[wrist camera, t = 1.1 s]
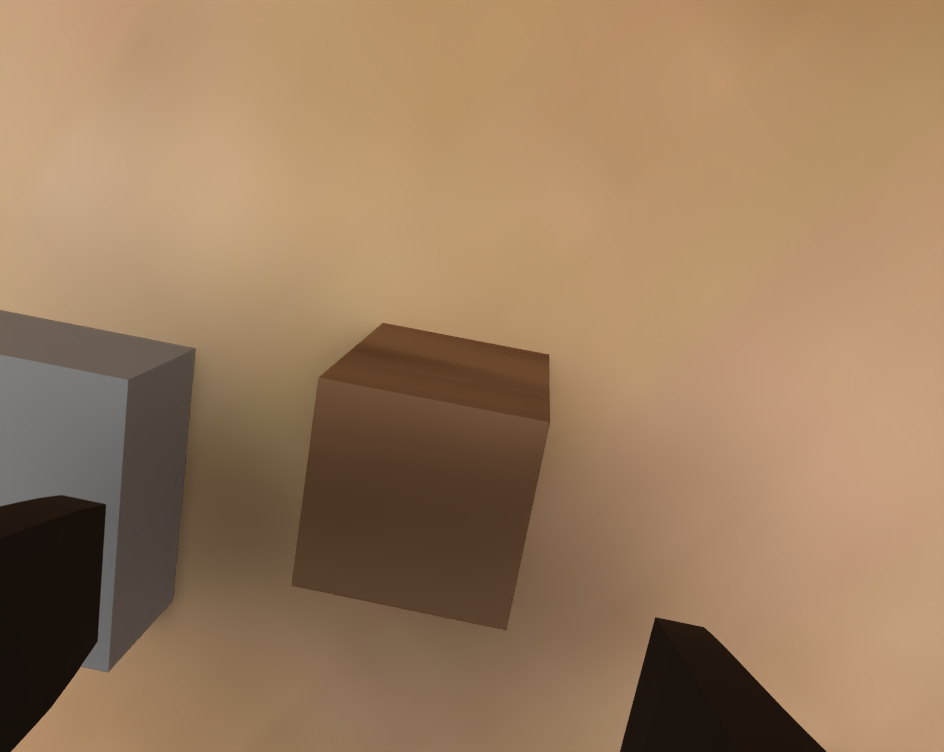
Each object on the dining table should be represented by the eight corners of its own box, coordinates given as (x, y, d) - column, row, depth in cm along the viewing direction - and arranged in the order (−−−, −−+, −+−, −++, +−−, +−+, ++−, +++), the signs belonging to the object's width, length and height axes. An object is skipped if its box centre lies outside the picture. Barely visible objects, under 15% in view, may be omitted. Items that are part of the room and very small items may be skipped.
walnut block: (517, 509, 20) (506, 630, 14) (360, 477, 20) (291, 585, 14) (549, 354, 19) (549, 422, 13) (383, 323, 19) (319, 377, 13)
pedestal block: (177, 595, 21) (107, 672, 18) (-68, 543, 22) (-182, 609, 18) (200, 346, 20) (128, 379, 16) (-67, 293, 20) (-192, 315, 17)
